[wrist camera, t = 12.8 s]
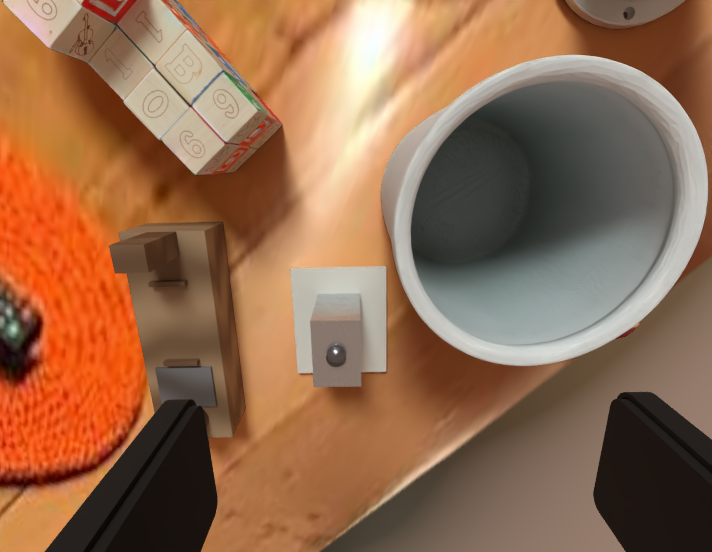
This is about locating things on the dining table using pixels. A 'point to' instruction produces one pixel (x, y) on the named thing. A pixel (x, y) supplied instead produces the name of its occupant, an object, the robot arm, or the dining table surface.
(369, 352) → the pad
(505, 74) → the utensil holder
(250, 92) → the stack of blocks
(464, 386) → the dining table surface
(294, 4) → the dining table surface
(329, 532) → the dining table surface
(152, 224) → the plane body
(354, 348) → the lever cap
